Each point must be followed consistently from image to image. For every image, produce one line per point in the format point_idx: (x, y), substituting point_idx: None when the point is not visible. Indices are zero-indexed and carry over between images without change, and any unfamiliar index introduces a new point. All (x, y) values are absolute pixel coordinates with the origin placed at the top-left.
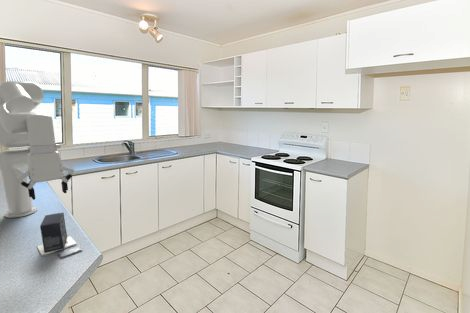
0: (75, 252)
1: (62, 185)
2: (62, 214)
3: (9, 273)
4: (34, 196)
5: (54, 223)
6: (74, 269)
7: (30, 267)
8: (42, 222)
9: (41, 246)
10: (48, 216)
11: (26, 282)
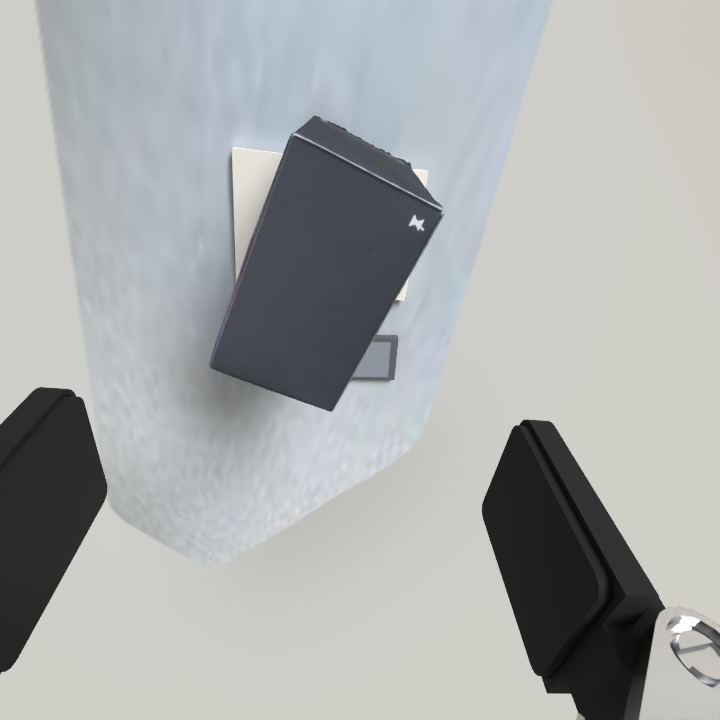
0: (363, 379)
1: (545, 568)
2: (412, 266)
3: (101, 336)
4: (79, 530)
5: (300, 400)
6: (313, 473)
7: (182, 351)
8: (233, 315)
9: (252, 179)
10: (305, 209)
11: (164, 440)
